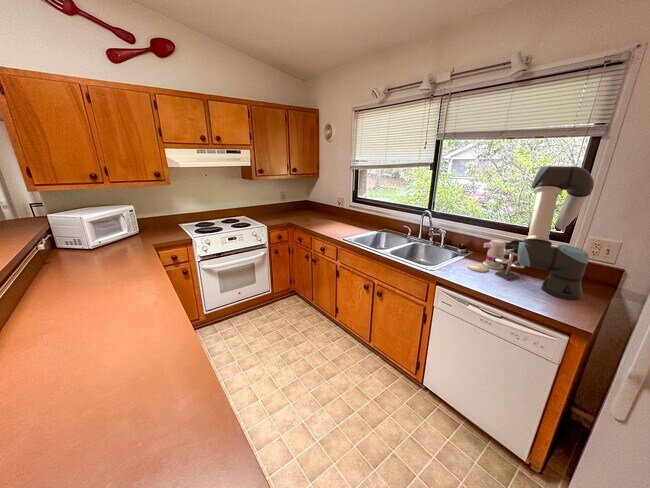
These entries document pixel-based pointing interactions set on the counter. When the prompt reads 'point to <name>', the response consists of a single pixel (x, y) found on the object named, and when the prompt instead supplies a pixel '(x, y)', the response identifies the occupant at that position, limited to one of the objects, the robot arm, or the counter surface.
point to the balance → (507, 273)
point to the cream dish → (478, 267)
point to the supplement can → (495, 252)
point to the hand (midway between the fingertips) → (493, 248)
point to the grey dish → (493, 266)
